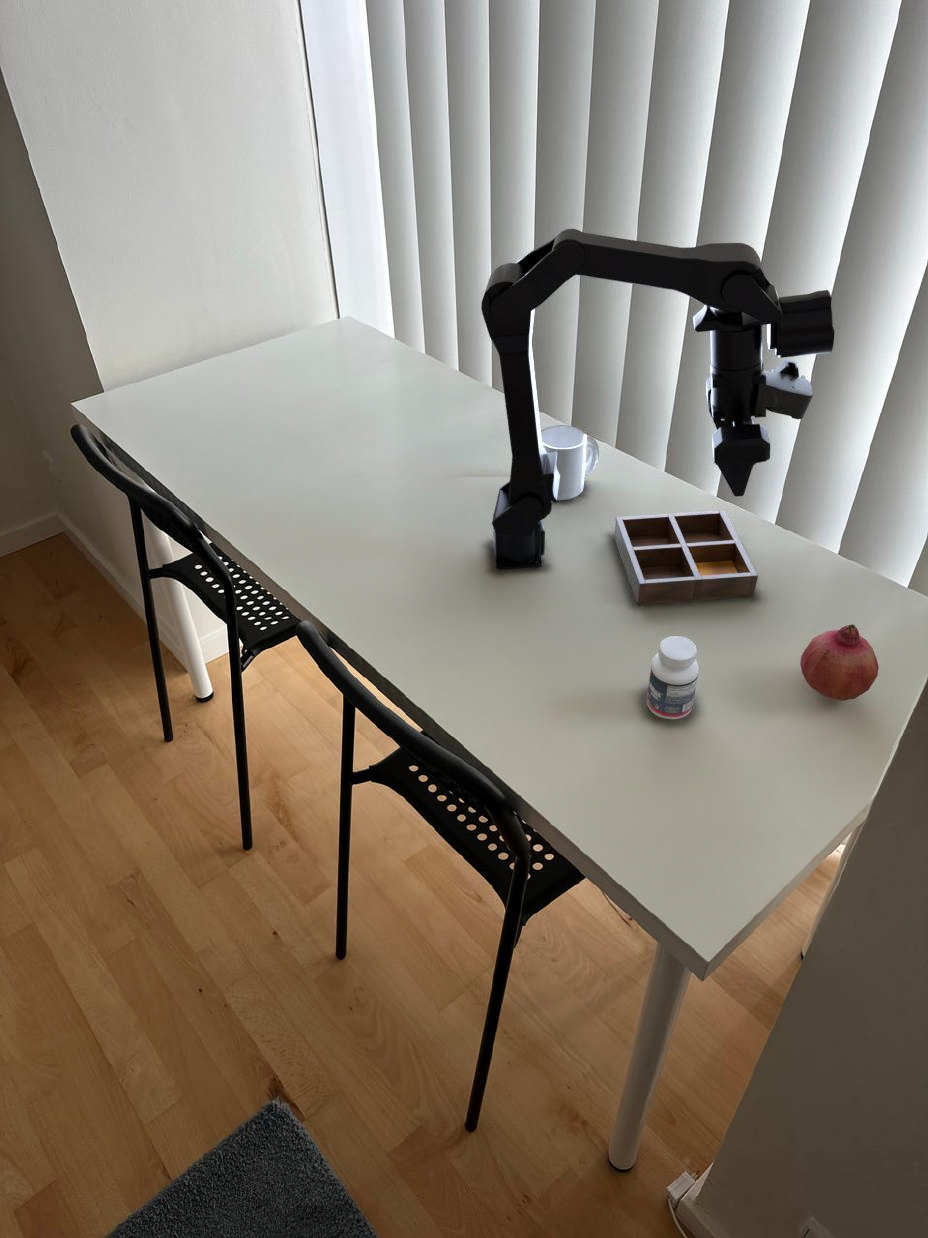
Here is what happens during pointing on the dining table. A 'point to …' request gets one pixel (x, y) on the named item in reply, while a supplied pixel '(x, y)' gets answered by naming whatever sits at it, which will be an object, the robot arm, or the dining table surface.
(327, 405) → the dining table surface
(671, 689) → the pill bottle
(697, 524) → the divided tray
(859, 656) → the fruit
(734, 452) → the robot arm
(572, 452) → the cup
